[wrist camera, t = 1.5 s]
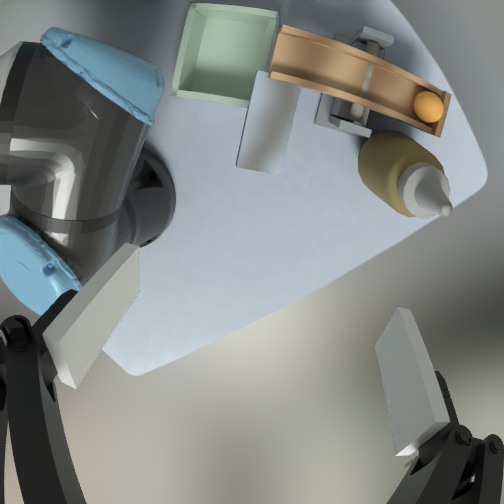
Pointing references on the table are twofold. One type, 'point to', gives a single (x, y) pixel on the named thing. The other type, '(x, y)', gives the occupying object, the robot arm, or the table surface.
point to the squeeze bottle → (404, 175)
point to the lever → (328, 82)
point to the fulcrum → (338, 110)
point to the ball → (428, 106)
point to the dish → (223, 52)
